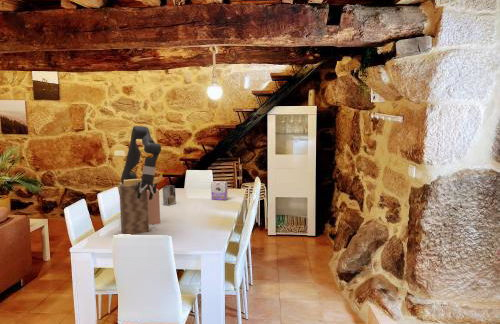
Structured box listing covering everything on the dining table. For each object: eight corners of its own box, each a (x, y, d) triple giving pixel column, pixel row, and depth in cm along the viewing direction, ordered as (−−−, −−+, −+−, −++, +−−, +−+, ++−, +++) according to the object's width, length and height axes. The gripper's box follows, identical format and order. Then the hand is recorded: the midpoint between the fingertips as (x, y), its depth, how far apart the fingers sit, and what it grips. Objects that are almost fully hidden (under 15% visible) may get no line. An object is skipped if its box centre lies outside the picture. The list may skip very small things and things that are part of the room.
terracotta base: (157, 220, 282) (156, 188, 279) (160, 223, 274) (159, 190, 271) (144, 221, 278) (143, 189, 275) (147, 224, 270) (146, 191, 267)
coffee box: (171, 202, 335) (170, 184, 333) (176, 204, 331) (175, 185, 329) (162, 204, 328) (162, 186, 326) (167, 206, 324) (167, 187, 322)
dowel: (157, 181, 260) (157, 177, 260) (158, 182, 257) (158, 178, 257) (123, 184, 251) (123, 180, 250) (124, 185, 247) (124, 180, 247)
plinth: (145, 227, 264) (143, 181, 259) (148, 231, 255) (146, 184, 251) (121, 231, 257) (119, 184, 252) (123, 235, 248) (121, 186, 244)
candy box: (227, 199, 348) (227, 181, 346) (225, 200, 343) (225, 182, 341) (213, 198, 352) (213, 180, 350) (211, 199, 346) (210, 181, 344)
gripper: (154, 174, 252) (150, 199, 251) (135, 172, 241) (131, 197, 240) (161, 175, 247) (157, 200, 246) (142, 173, 236) (138, 199, 235)
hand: (144, 199), depth 243 cm, fingers open, 8 cm apart
